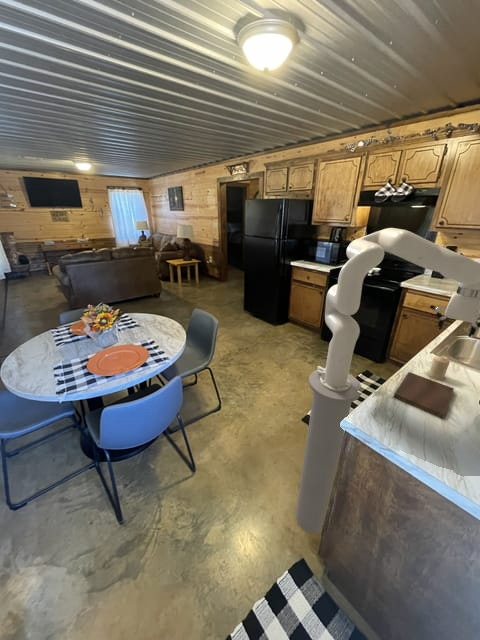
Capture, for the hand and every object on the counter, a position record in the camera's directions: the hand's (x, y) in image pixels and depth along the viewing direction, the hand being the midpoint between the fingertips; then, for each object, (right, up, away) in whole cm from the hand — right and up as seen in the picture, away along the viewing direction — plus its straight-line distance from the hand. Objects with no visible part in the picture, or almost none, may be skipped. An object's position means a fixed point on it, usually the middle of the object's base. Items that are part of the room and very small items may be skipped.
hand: (454, 332), depth 107 cm
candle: (-1, -20, +9) cm, 22 cm away
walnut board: (-15, -25, -3) cm, 29 cm away
